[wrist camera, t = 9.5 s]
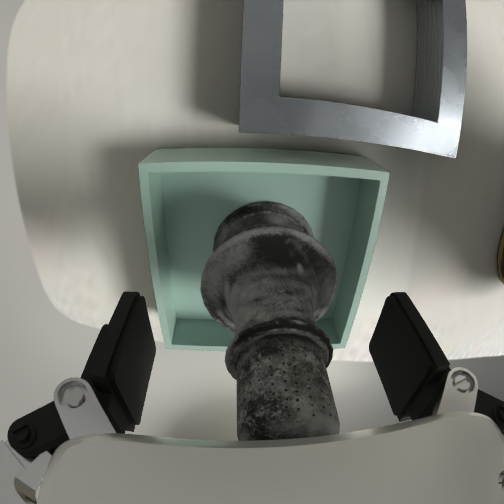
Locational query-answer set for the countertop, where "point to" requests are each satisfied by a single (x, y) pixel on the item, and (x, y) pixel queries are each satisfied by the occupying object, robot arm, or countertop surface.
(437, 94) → the grey square frame
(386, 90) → the countertop surface
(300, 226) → the salt shaker
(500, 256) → the apothecary jar
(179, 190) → the tray
